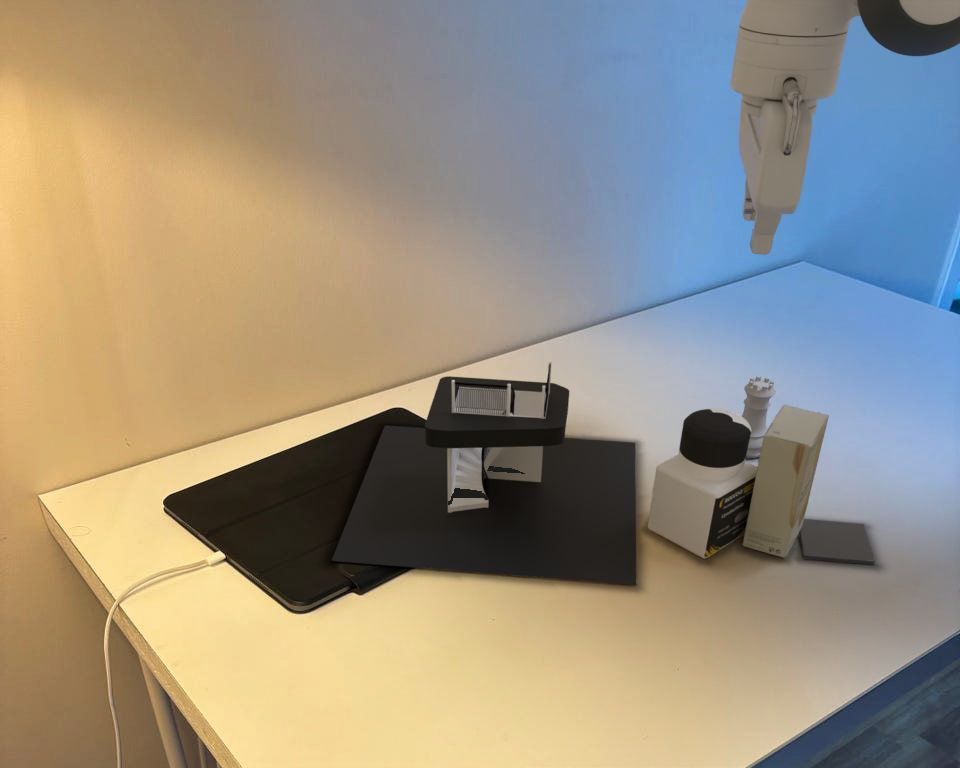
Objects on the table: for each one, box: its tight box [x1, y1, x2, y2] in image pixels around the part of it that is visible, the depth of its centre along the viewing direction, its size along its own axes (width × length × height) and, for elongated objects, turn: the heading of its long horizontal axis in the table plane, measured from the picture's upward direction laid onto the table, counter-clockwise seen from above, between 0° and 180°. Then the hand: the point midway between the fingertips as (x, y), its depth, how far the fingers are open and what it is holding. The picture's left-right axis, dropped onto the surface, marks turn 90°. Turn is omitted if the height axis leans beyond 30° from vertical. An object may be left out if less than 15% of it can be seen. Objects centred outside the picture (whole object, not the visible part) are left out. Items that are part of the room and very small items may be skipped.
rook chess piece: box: [741, 375, 776, 459], centre depth 105 cm, size 4×4×8 cm
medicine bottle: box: [647, 408, 758, 559], centre depth 92 cm, size 7×7×12 cm
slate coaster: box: [798, 518, 876, 566], centre depth 94 cm, size 6×6×1 cm
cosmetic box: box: [742, 404, 830, 558], centre depth 91 cm, size 6×4×12 cm
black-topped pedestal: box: [331, 361, 637, 586], centre depth 96 cm, size 28×26×13 cm
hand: (755, 234), depth 93 cm, fingers open, 8 cm apart
